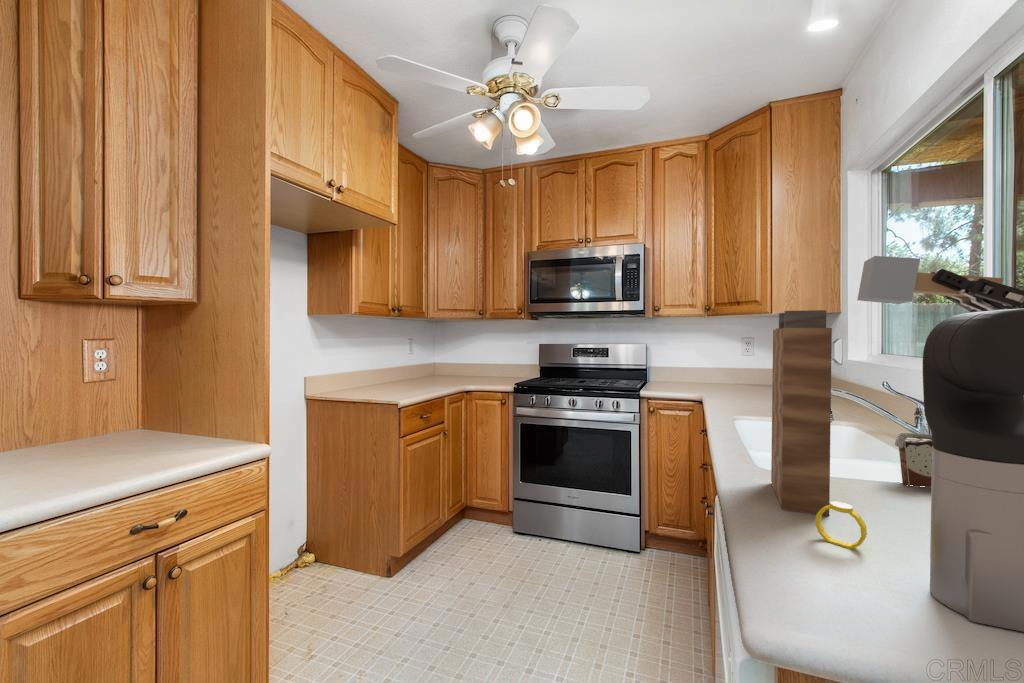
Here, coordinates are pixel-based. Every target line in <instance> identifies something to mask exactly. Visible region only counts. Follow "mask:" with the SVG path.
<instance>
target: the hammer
mask: <svg viewBox="0 0 1024 683" xmlns="http://www.w3.org/2000/svg"><path fill="white" fill-rule="evenodd" d="M920 262H921V258H917V257H916V258H915V257H904V256H903V257H901V256H899V257H898V256H883V255H882V256H881V255H874V256H873V257H870V258H868V259H867V260H865V261H863V265H862V266H863V268H862V273H861V277H860V278H861V279H860V283H859V288H858V294H857V300H856V301H860V302H870V303H871V302H873V303H881V304H882V303H883V304H892V305H901V304H905V303H909V302H913V300H914V299H913V298H914V295H915V294H923V295H936V296H945V295H947V296H959V297H967V296H965V295H963V294H960V293H959V292H958V291H959V289H958V290H957V291H955V290H952V289H950V288H948V287H945V286H943V285H940V284H938V283H935V282H933V281H932V277H933V276H934V274H935V273H936V272H935V273H930V272H919V267H920ZM959 275H960V276H963V277H965V278H967V279H968V278H974V279H975V280H978V279H979V278H983V279H986V280H989V281H992V282H996V283H999V284H1003V282H1004V278H1003V277H995V276H994V277H991V276H975V275H965V274H964V275H962V274H959ZM967 279H966V280H967ZM990 290H994V289H990ZM914 293H915V294H914Z"/></svg>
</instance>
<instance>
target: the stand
mask: <svg viewBox="0 0 1024 683" xmlns="http://www.w3.org/2000/svg"><path fill="white" fill-rule="evenodd" d="M832 330H833V328H832V327H827V310H826V309H825V310H823V309H819V310H818V309H817V310H813V309H812V310H811V309H810V310H809V309H808V310H784V312H780V313H778V327H777V328H775V329H773V330H772V381H771V382H772V387H771V388H772V389H771V392H772V393H771V394H772V395H771V396H772V397H771V398H772V401H771V407H772V408H771V464H770V466H771V468H770V469H771V473H770V474H771V475H770V478H771V479H770V482H772V484H771V486H772V485H773V486H772V489H773V488H774V489H773V491H774V490H775V491H774V494H775V493H776V494H775V496H776V498H777V502H778V504H779V506H780V509H781V510H783V511H789V512H790V511H791V512H797V513H804V514H811V515H813V514H814V515H817V513H818V512H819V511H820V510H821V509H822V508H823V507H825V506H828V505H830V501H831V500H830V496H831V495H830V492H831V491H830V488H831V487H830V486H831V485H830V484H831V483H830V482H831V480H830V478H831V476H830V475H831V420H832V419H831V416H832V415H831V412H832V411H831V409H832V406H831V405H832V400H831V399H832V352H833V351H832V346H833V345H832V342H833V341H832V340H833V339H832V337H833V336H832V335H833V331H832ZM822 516H825V517H830V509H828V510H825V511H824V512H823V514H822Z"/></svg>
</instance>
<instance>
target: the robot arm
mask: <svg viewBox="0 0 1024 683" xmlns="http://www.w3.org/2000/svg"><path fill="white" fill-rule="evenodd" d="M929 273H935V274H934V276H933V277H932V281H933V282H935V283H938V284H940V285H943V286H945V287H948V288H950V289H952V290H955V291H957V290H958V289H959V291H958V292H959V293H960V294H963V295H965V296H967V297H959V296H947V295H943V297H944V298H945V299H946V300H949V301H951V302H952V303H954V304H956V305H957V306H960V307H961V308H963V309H965V310H966V311H968V312H964V313H959V314H955V315H953V316H950V317H947V318H945V319H943V320H942V321H940V322H939V323H938V324H936V325H935V326H934V327H933V328H932V330H931V331H930V332H929V334H927V335H928V336H927V337H926V339H925V340H926V341H924V342H925V343H924V346H923V352H922V385H923V386H922V387H923V388H922V391H923V393H922V394H923V412H924V417H925V421H926V423H927V426H928V427H929V430H930V434H931V435H932V480H931V488H930V490H931V492H930V495H931V496H930V538H929V540H930V544H929V545H930V546H929V550H930V551H929V559H930V560H929V562H930V563H929V570H930V571H929V591H930V594H931V595H932V597H934V598H935V599H936V600H937V601H938V602H939V603H941V604H943V605H944V606H946V607H948V608H949V609H952V610H953V611H955V612H958V613H959V614H961V615H963V616H965V617H966V619H968V620H969V621H970V622H974V623H977V624H983V625H987V626H993V627H998V628H1003V629H1008V630H1013V631H1018V632H1024V289H1023V290H1022V289H1021V288H1020V289H1019V288H1016V287H1013V286H1009V285H1007V284H1004V283H1002V284H999V283H996V282H992V281H989V280H986V279H983V278H979V279H978V280H975V279H974V278H968V279H967V278H965V277H963V276H960V275H961V274H957V273H954V272H952V271H950V270H948V269H944V268H940V269H937V270H936V272H934V271H931V272H929ZM966 279H967V280H966ZM990 289H994V290H990Z"/></svg>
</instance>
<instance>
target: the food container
mask: <svg viewBox="0 0 1024 683" xmlns="http://www.w3.org/2000/svg"><path fill="white" fill-rule="evenodd" d="M894 445H895V447H898V450H899V452H898V454H899V463H900V472H901V480H902V482H901V483H902V485H904V484H905V485H908V486H910V485H913V486H912V487H911V488H918V487H920V486H925V487H931V480H932V434H930V433H929V434H927V433H912V432H911V433H899V434H897V437H896V438H895V443H894ZM905 485H904V486H905Z"/></svg>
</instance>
